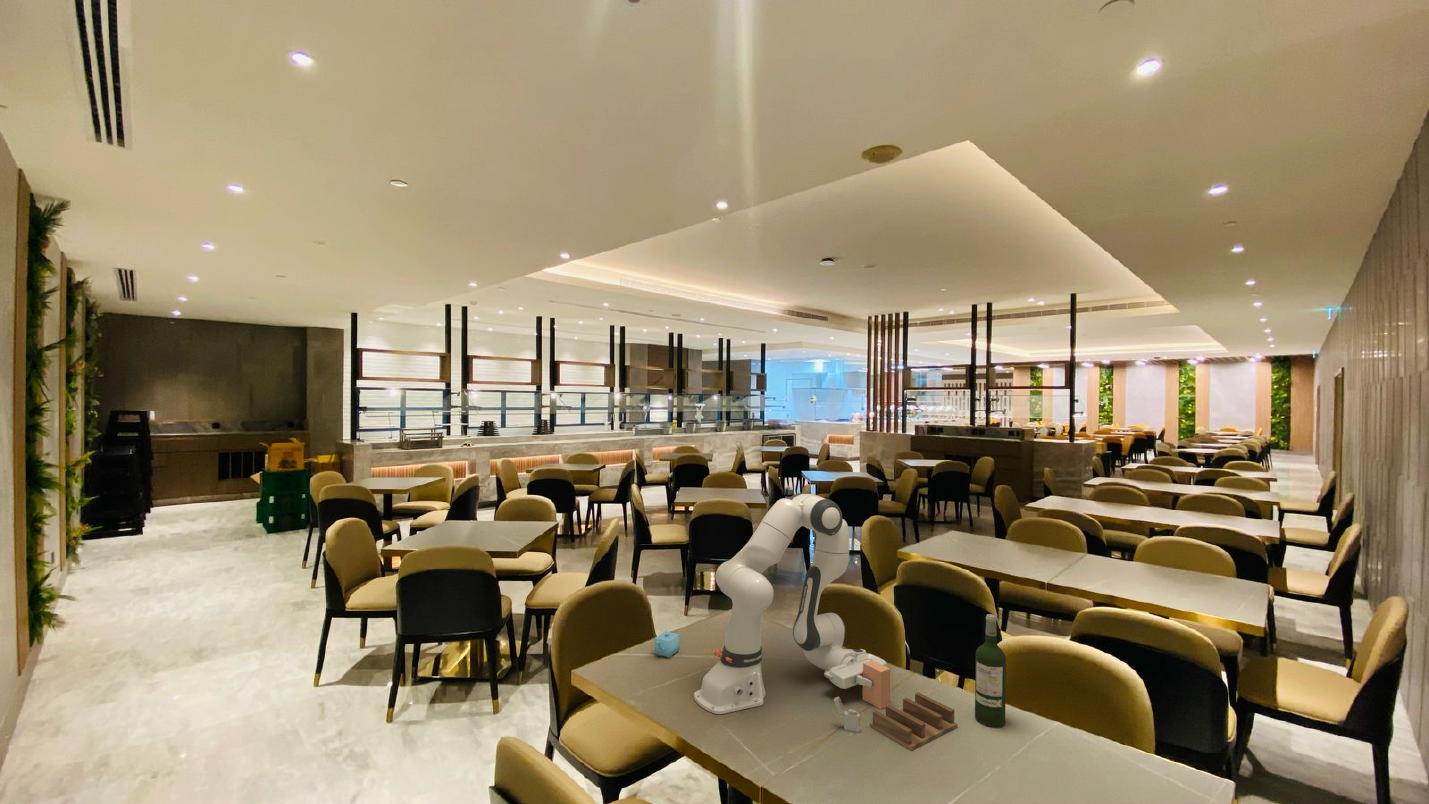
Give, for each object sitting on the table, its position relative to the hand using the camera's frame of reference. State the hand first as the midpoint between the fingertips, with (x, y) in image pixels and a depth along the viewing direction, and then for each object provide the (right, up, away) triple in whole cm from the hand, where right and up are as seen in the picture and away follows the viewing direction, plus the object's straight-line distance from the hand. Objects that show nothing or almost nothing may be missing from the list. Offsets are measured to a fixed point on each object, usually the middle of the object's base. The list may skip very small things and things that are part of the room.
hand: (878, 681), depth 182 cm
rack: (+6, -7, -13) cm, 16 cm away
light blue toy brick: (-67, -6, +33) cm, 75 cm away
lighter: (-13, -7, -13) cm, 20 cm away
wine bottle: (+29, -7, -9) cm, 31 cm away
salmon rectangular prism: (-1, -7, +1) cm, 7 cm away
